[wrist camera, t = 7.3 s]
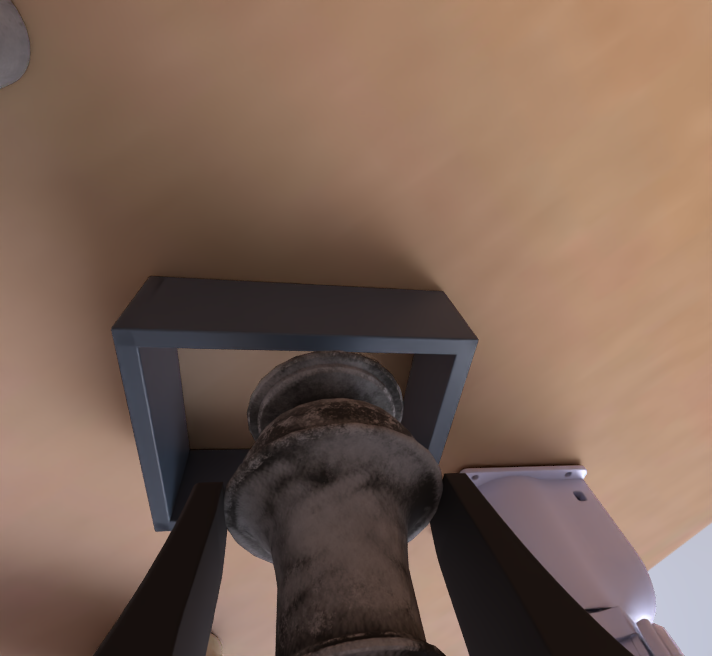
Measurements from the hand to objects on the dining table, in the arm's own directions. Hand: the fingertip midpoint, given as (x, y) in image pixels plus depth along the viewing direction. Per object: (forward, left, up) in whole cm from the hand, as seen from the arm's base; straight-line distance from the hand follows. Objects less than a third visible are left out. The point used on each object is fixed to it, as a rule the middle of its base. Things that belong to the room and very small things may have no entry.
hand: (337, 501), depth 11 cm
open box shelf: (+1, +4, -10) cm, 11 cm away
